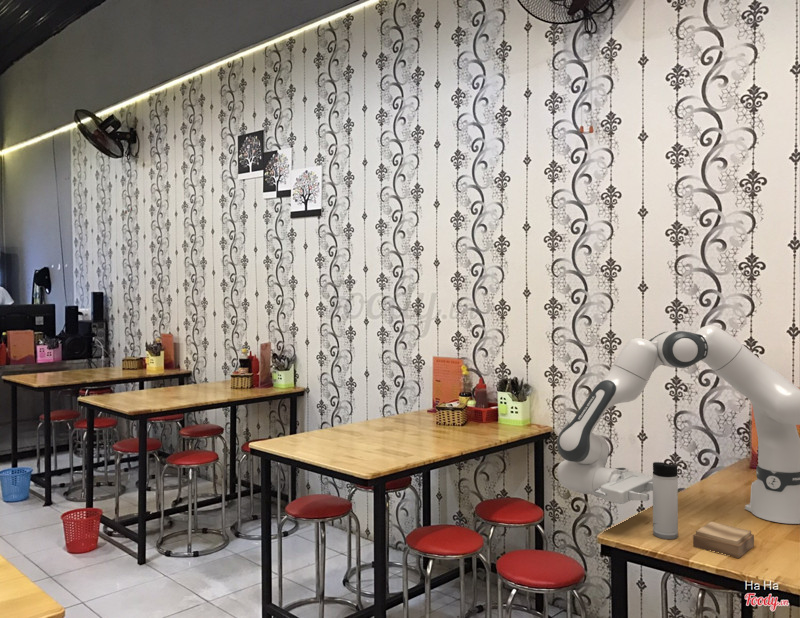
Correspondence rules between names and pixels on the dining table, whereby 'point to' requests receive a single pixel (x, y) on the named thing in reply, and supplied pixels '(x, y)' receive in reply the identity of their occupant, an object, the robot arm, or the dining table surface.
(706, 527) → the plinth
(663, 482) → the travel mug
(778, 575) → the dining table surface
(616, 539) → the dining table surface
